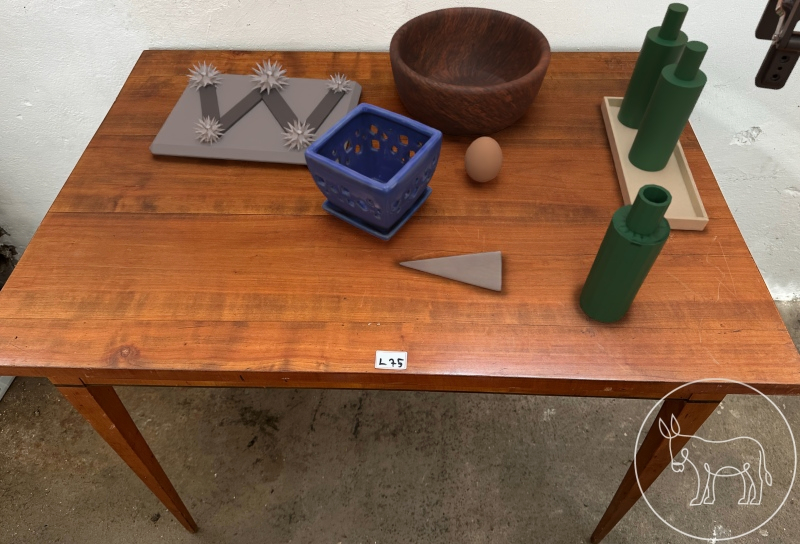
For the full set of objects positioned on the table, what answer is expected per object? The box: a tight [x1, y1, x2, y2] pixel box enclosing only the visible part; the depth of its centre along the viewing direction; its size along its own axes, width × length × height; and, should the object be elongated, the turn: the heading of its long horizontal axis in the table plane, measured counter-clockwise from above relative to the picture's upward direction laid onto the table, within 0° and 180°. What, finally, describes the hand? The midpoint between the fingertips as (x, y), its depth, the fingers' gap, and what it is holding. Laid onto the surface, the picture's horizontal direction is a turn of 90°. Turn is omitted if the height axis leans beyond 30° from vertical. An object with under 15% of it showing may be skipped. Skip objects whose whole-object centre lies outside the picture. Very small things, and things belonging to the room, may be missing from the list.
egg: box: [463, 136, 504, 183], centre depth 77 cm, size 5×5×7 cm
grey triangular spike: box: [399, 250, 503, 292], centre depth 68 cm, size 6×5×13 cm
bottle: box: [578, 184, 672, 324], centre depth 59 cm, size 6×6×18 cm
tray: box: [600, 96, 710, 231], centre depth 81 cm, size 28×10×2 cm, turn 175°
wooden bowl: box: [388, 6, 552, 137], centre depth 88 cm, size 25×25×10 cm
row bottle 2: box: [628, 40, 709, 172], centre depth 74 cm, size 6×6×18 cm
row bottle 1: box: [617, 2, 689, 130], centre depth 80 cm, size 6×6×18 cm
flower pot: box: [304, 102, 443, 242], centre depth 71 cm, size 13×13×12 cm
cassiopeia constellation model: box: [148, 59, 363, 166], centre depth 86 cm, size 30×22×7 cm
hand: (766, 61), depth 49 cm, fingers open, 8 cm apart
